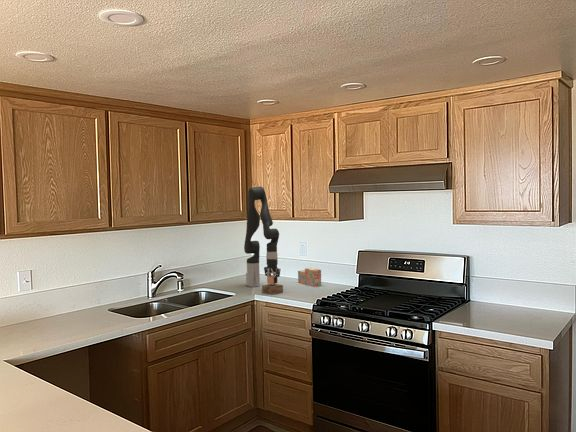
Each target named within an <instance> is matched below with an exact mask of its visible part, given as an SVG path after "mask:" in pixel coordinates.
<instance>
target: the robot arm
mask: <svg viewBox="0 0 576 432" xmlns="http://www.w3.org/2000/svg"><path fill="white" fill-rule="evenodd" d="M256 201H260V202H261V209H260V211H259V212H258V211H257V208H256ZM259 213H260V214H259ZM246 216H247V218H246V231H245V240H244V244H243V245H244V247H243V248H244V249H243V251H244V253H245V254H247V255H249V254H250V255H251V254H253V255H252V256H251V257H249V258H247V259H246V273H245V286H247V287H249V288H255V287H256V286H258V287H260V285H261V282H260V281H261V280H260V279H261V278H260V276H261V275H260V248H261V246H260V242H259V240H252V237H253V236H254V235H255V233H256V232H257V231H258V229H259V227H260V223H262V230H263V232H262V233H263V237H264V238H265V239H266V240H270V242H268V243H267V244H266V258H265V259H266V265H267V266H264V267H263V271H264V274H265V276H266V277H267V276H271V275H274V283H276V284H278V283H277V279H278V278H279V277H280V275H281V268H279V267H278V264H279V262H278V258H279V257H278V243H279V238H280V232H279V230H278V229H277V228H270V227H272V226H273V224H274V221H273V219H272V216H271V214H270V209H269V205H268V199H267V194H266V191H265V188H264V187H263V186H252V187H250V188H249V189H248V191H247V215H246Z"/></svg>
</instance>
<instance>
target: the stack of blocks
mask: <svg viewBox="0 0 576 432" xmlns="http://www.w3.org/2000/svg"><path fill="white" fill-rule="evenodd" d="M297 278H298V280H297V282H298V284H300V285H306V286H308V287H309V286H310V287H312V288H317V287H322V269H320V268H315V267H307V268H306V267H305V268H304V270H297Z"/></svg>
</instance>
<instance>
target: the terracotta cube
mask: <svg viewBox="0 0 576 432" xmlns="http://www.w3.org/2000/svg"><path fill="white" fill-rule="evenodd" d="M266 282H267V284H278V278H277V283H274V275H273V274H271V276H266ZM267 284H266V285H267Z"/></svg>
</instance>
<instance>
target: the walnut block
mask: <svg viewBox="0 0 576 432" xmlns="http://www.w3.org/2000/svg"><path fill="white" fill-rule="evenodd" d="M261 288H262V289H261V291H262V294H267V295H271V296H272V295H273V296H274V295H278V294H282V293H283V292H284V285H283V284H278V283H276V284H263V285H261Z"/></svg>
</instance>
